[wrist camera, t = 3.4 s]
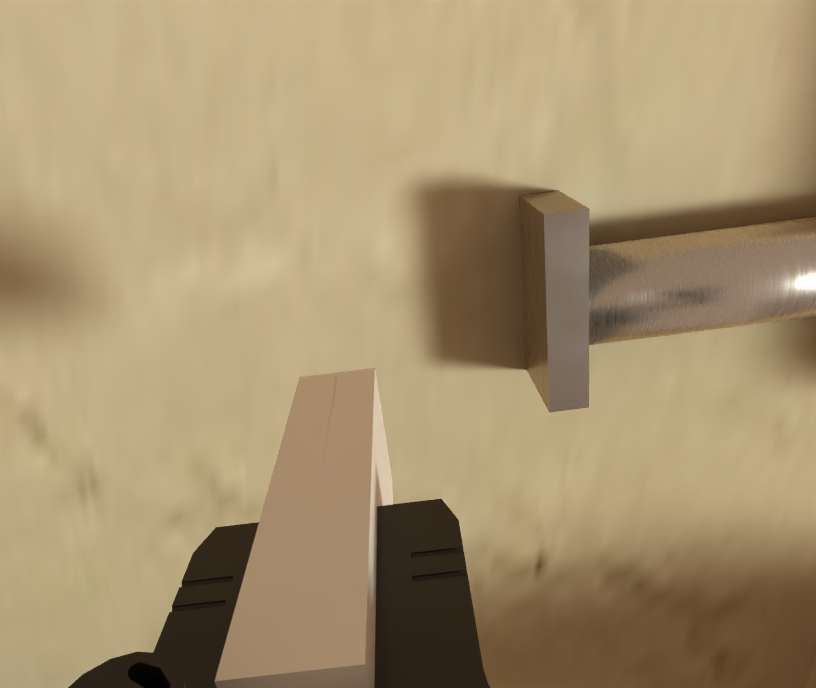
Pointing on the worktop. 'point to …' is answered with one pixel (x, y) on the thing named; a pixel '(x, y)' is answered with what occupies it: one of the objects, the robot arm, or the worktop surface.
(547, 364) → the pin
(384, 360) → the worktop surface
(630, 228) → the worktop surface
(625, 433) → the worktop surface
